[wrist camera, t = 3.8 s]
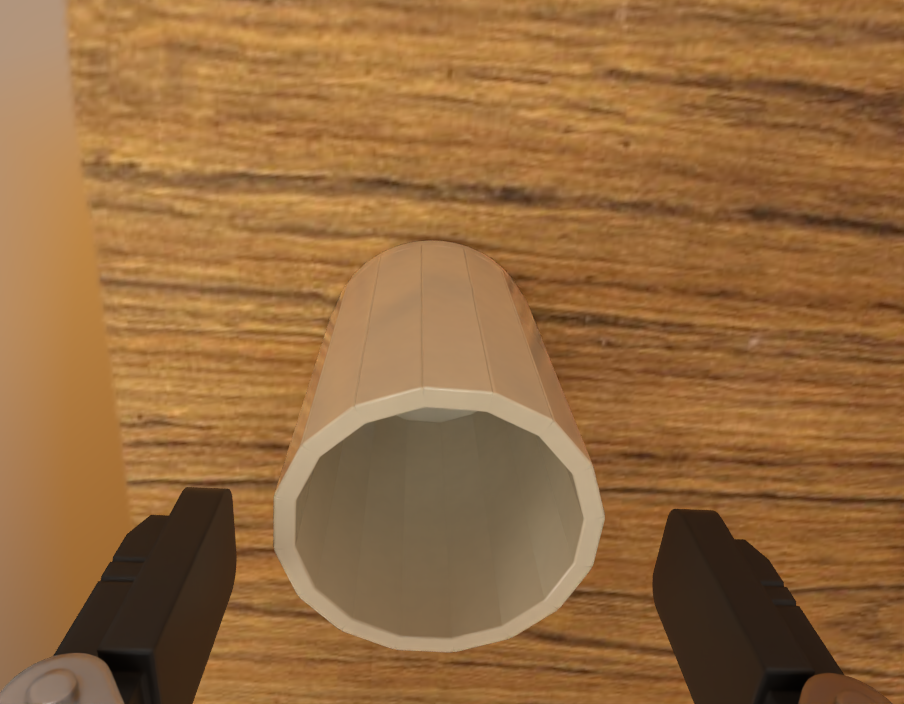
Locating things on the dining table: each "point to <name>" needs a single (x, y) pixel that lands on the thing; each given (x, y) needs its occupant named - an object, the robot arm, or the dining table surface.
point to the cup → (435, 461)
